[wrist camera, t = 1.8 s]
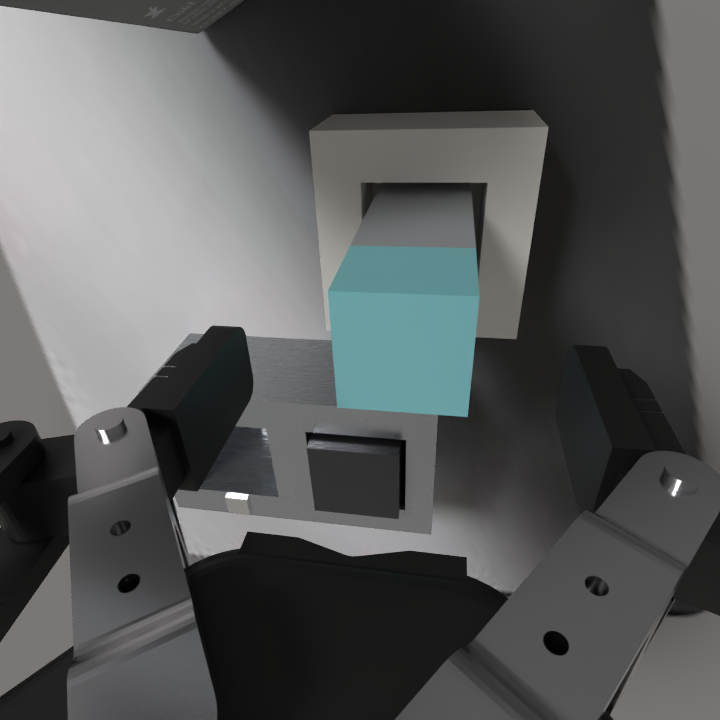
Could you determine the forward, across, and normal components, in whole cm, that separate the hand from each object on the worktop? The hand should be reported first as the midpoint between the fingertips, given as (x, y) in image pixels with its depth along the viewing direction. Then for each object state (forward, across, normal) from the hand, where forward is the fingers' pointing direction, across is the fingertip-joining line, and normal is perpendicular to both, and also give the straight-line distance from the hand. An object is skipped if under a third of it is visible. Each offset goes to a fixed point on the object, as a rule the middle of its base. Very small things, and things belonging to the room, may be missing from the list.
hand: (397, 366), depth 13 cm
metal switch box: (+12, +6, +11) cm, 17 cm away
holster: (+12, 0, 0) cm, 12 cm away
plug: (+11, 0, 0) cm, 11 cm away
